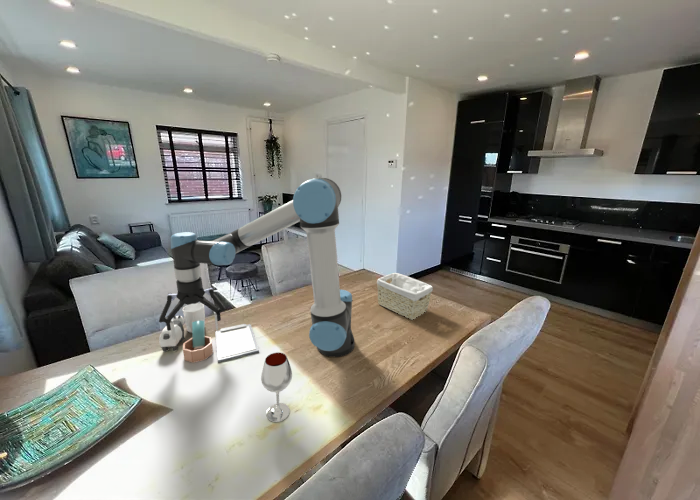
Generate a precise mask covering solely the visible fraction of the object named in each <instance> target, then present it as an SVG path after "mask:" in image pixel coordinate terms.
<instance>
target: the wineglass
mask: <svg viewBox="0 0 700 500" xmlns="http://www.w3.org/2000/svg"><path fill="white" fill-rule="evenodd" d="M262 366H263V367H262V371H261V375H260V376H261V377H260V381H261V384H262V386H263V387H264V388H265V390H266V391H268V392H271V393H275V394H276V395H275V398H276V403H274V404H272V405H271V406H269V408H268V409H267V410H266V417H267V419H268V420H269V421H270V422H272V423H280V422H283V421H284V420H286V419H287V418H288V417H289V414H290V412H291V410H290V407H289V405H287V403H284V402H283V403H282V402H280V392H282V391H284V390H285V389H287V387H288V386H289V385H290V383H291V381H292V377H293V371H292V367H291V364H290V362H289V359H288V357H287V355H286V354H285V353H283V352H278V351H277V352H273V353H270V354H268V355H267V356H266V357H265V359H264V363H263V365H262Z"/></svg>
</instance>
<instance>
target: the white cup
mask: <svg viewBox="0 0 700 500" xmlns="http://www.w3.org/2000/svg"><path fill="white" fill-rule="evenodd" d="M205 313H206V312H205V305H204V304H202V303H200V302H198V303H196V304H190V305H187V304H185V306H183V307H182V314H183V318H184V319H185V322H184V324H185V327H186V330H187V332H188V333H191V334H192V322H195V321H204V329H205V327H206V315H205Z"/></svg>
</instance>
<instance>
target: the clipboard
mask: <svg viewBox="0 0 700 500" xmlns="http://www.w3.org/2000/svg"><path fill="white" fill-rule="evenodd" d="M214 334H215V343H216V355H217V362H218V363H222V362H224V361H229V360H233V359H237V358H241V357H245V356H249V355H253V354H257V353H260V348H259V346H258V343H257V340H256V337H255V333H254V331H253V328H252V325H251V323H249V324H246V323H242V324H237V325H231V326H227V327H223V328H220V329H218V331H215V332H214Z"/></svg>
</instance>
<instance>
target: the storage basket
mask: <svg viewBox="0 0 700 500" xmlns="http://www.w3.org/2000/svg"><path fill="white" fill-rule="evenodd" d="M387 281H390V283H389V282H387ZM376 285H377V303H378V305H380V306H381V307H384V308H386V309H387V310H390V311H392V312H395V313H396V314H397V313H398V314H397V315H399V316H403V317H404V316H405V318H406V319H408V318H409V320H410V321H413V319H414V320H415V319H417V318H419V317H420V316H422V315H424V314H425V313H427V311H428V309H429V305H430V302H431V301H430V300H431V295H432V292H433V290H434V289H433V286H432V285H431V284H428V283H426V282H424V281H421V280H419V279H416V278H414V277H410V276H407V275H405V274H401V273H399V272H393V273H389V274H387V275H384V276H381V277H380V278H377V281H376ZM424 312H425V313H424ZM421 314H422V315H421ZM418 316H419V317H418ZM416 317H417V318H416Z"/></svg>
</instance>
